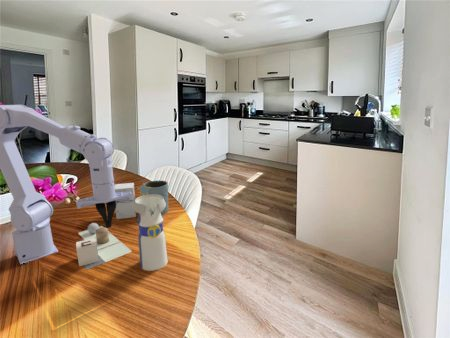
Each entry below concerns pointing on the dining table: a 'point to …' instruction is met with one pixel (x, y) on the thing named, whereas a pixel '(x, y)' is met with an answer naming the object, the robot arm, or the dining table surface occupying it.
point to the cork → (102, 236)
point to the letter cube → (87, 251)
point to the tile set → (110, 251)
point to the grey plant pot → (159, 191)
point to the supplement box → (125, 201)
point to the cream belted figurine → (151, 230)
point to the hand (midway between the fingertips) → (108, 226)
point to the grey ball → (93, 227)
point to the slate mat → (94, 263)
